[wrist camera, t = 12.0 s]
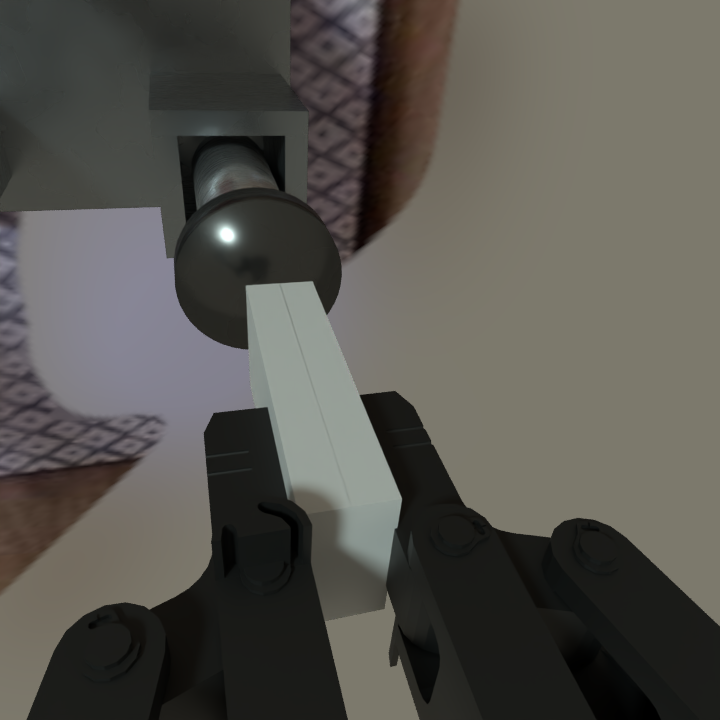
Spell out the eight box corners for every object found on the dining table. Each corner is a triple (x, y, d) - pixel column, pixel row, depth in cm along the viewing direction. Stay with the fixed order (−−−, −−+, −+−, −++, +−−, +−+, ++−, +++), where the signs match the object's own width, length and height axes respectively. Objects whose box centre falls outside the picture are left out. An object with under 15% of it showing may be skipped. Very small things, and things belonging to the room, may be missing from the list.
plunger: (175, 225, 24) (183, 356, 17) (162, 107, 21) (165, 204, 14) (287, 221, 25) (337, 342, 18) (287, 108, 22) (346, 199, 15)
